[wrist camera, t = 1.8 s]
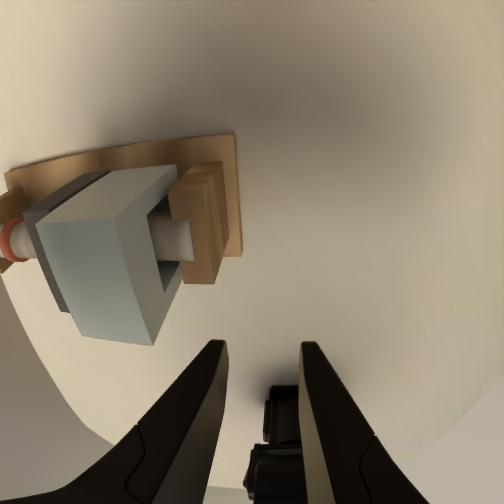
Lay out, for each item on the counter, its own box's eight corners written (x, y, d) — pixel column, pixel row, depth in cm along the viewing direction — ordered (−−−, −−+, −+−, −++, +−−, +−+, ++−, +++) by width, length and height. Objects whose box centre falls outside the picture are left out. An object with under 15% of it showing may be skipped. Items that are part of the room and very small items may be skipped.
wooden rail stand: (234, 133, 17) (210, 159, 11) (242, 250, 21) (228, 319, 15) (9, 170, 19) (-47, 203, 13) (33, 250, 23) (-11, 294, 17)
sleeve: (176, 164, 15) (113, 218, 9) (190, 261, 18) (153, 345, 12) (112, 171, 16) (35, 223, 10) (132, 260, 19) (81, 335, 13)
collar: (109, 169, 16) (48, 209, 11) (129, 256, 19) (87, 315, 14) (84, 173, 16) (22, 212, 11) (105, 256, 19) (60, 311, 14)
